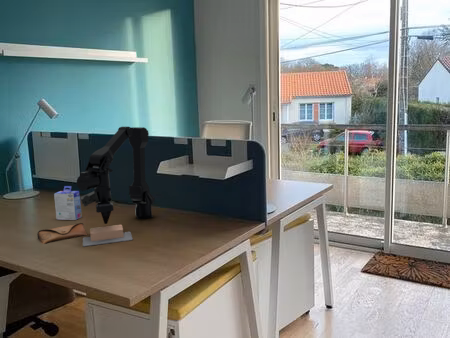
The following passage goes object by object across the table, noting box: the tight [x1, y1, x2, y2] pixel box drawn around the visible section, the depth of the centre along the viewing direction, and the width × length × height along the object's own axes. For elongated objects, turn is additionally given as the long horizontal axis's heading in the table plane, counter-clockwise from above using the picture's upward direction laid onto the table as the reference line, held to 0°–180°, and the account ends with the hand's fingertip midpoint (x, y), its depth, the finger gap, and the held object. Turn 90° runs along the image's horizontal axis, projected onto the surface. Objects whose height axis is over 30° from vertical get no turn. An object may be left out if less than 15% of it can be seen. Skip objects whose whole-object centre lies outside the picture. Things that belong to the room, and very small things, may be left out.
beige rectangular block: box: [89, 224, 124, 241], centre depth 172 cm, size 12×3×7 cm
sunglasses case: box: [36, 222, 89, 245], centre depth 174 cm, size 18×7×7 cm, turn 122°
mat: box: [82, 231, 133, 247], centre depth 169 cm, size 18×10×1 cm, turn 107°
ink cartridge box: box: [53, 185, 83, 221], centre depth 198 cm, size 10×6×14 cm, turn 78°
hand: (105, 223), depth 176 cm, fingers closed
